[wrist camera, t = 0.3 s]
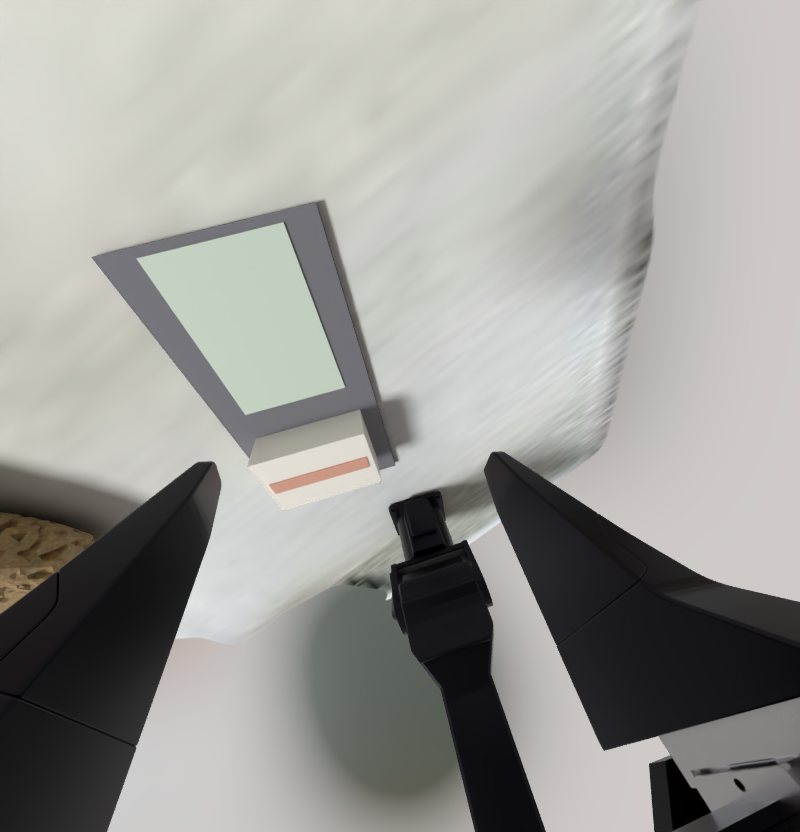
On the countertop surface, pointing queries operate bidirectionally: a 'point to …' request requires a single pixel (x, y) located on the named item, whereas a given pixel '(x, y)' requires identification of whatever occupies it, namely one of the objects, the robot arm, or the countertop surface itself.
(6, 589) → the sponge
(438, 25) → the countertop surface
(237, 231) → the mat
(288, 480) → the card box
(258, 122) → the countertop surface
